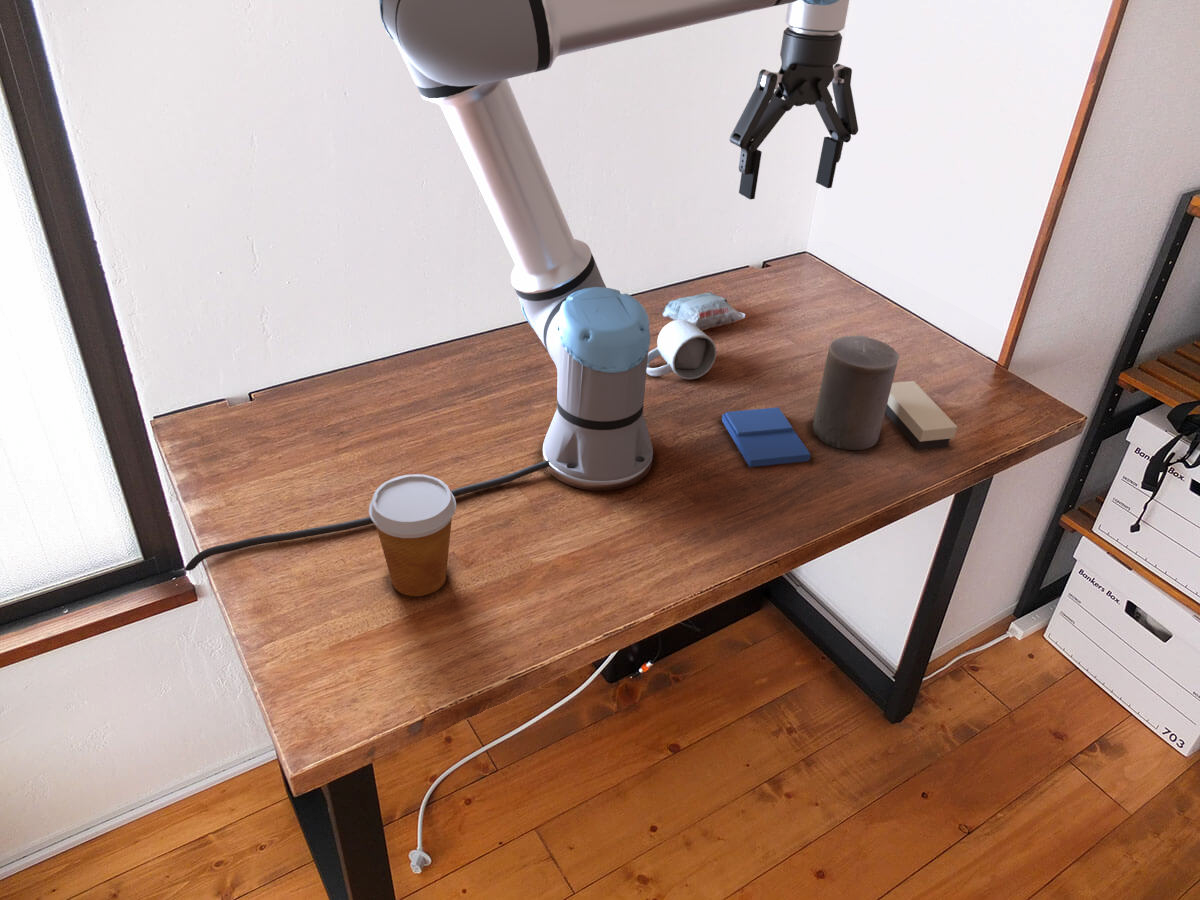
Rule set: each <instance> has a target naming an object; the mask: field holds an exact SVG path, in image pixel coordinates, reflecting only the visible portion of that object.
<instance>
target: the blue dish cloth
mask: <svg viewBox="0 0 1200 900" xmlns="http://www.w3.org/2000/svg"><path fill="white" fill-rule="evenodd" d="M721 421H722V423H723V425H724V427H725V429H726V430H727V432H728V433H729V435H730V437H731V438H732V440H733V442H734V443H735V445H736V447H737V448H738V450H739V452H740V454H741V455H742V457H743V459H744V461H745V462H746V463H747V465H748V468H755V467H763V466H774V465H783V464H784V465H785V464H793V463H803V462H804V463H805V462H810V459H811V456H812V455H811V453H810V451H809V449H808V448H807V447H806V445H805V444H804V442H803V441H802V440H801V438H800V437H799V435H798V433H797V432H796V431H795V430H794V428H793V426H792V425H791V423H790V422H789V420H788V419H787V417H786V416H785V414H784V413H783V411H782V410H781V409H780V407H778V406H777V407H767V408H753V409H743V410H735V411H734V410H731V411H725V413H722V416H721Z"/></svg>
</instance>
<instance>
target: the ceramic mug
mask: <svg viewBox="0 0 1200 900" xmlns="http://www.w3.org/2000/svg"><path fill="white" fill-rule="evenodd" d="M656 345H657V346H656V347H655V348H653V349H651V350H650V351H648V361H647V372H646V375H649V376H651V377H661V376H665V375H667V374H671V373H672V372H673V373H674V374H675V375H676V376H677V377H678V378H680V379H683V380H696V379H699V378H701V377H703V376H705V374H707V373H708V372H709V371H710V370H711V369H712V367H713V365H714V364H715V362H716V358H717V346H716V344H715V342H714V340H713V339H712V338H711V337H710V336H708V335H707V334H706V333H705V332H704V330H702V331H701V330H700V329H699V328H698V327H697V326H696V325H694V324H693V323H691V322H689V321H686V320H682V319H678V320H674V319H672V320H671V321H669V322H668V323H666V324H665V325H664V326H663V327H662V328H661V329H660V331H659V333H658V335H657V338H656ZM659 356H661V357H662V358H663V359H664V361H665V362H666V363H667V364H665V365H664V364H663V365H661V366H659V367H650V363H651V362H652V361H653V360H654V359H656V358H657V357H659Z"/></svg>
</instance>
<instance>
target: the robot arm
mask: <svg viewBox="0 0 1200 900" xmlns="http://www.w3.org/2000/svg"><path fill="white" fill-rule="evenodd" d="M378 3H379V14H380V19H381V22H382V25H383V27H384V31H385V32H386V34H388V36H389V38H390V39H391V40H392V41H393V42H394V43H395V45H396V46H397V49H398V50H399V53H400V55H401V57H402V59H403V61H404V63H405V65H406V68H407V69H408V72H409V73H410V76H411V78H412V79H413V82H414V84H415V86H416V88H417V90H418V92H419V94H420V96H421V98H422V99H423V100H425V101H428V102H431V103H433V104H436V105H438V106H440V108H441V110H442V112H443V114H444V117H445V119H446V120H447V123H448V125H449V128H450V129H451V131H452V133H453V136H454V138H455V139H456V142H457V144H458V146H459V148H460V150H461V152H462V155H463V157H464V159H465V161H466V163H467V165H468V167H469V170H470V172H471V173H472V176H473V178H474V180H475V183H476V184H477V186H478V189H479V191H480V193H481V195H482V198H483V199H484V202H485V203H486V205H487V208H488V210H489V212H490V214H491V217H492V218H493V221H494V223H495V225H496V227H497V229H498V231H499V233H500V235H501V238H502V240H503V242H504V243H505V247H506V248H507V250H508V252H509V254H510V256H511V258H512V261H513V262H514V263H513V264H514V267H513V270H512V271H511V274H510V282H511V284H512V287H513V288H514V291H515V293H516V295H517V297H518V299H519V303H520V306H521V311H522V314H523V316H524V318H525V320H526V321H527V323H528V324H529V326H530V327H531V329H533V331H534V332H535V333H536V335H537V337H538V338H539V340H540V342H541V343H542V345H543V346H544V348H545V350H546V351H547V353H548V355H549V357H550V358H551V360H552V361H553V363H554V364H555V367H556V373H557V374H556V375H557V378H556V379H557V380H556V381H557V387H556V410H555V412H554V415H553V418H552V420H551V422H550V425H549V428H548V429H547V432H546V434H545V437H544V440H543V444H542V461H540V462H538V463H535V464H532V465H529V466H527V467H525V468H522V469H520V470H517V471H514V472H511V473H509V474H506V475H503V476H500V477H497V478H494V479H490V480H486V481H485V480H484V481H481V482H476V483H474V484H473V483H472V484H470V485H465V486H462V487H458V488H455V489H451V490H450V491H451V493H452V494H453V496H454V497H455V498H456V497H458V496H462V495H466V494H470V493H473V492H478V491H481V490H485V489H490V488H494V487H496V486H500V485H503V484H507V483H509V482H510V483H511V482H513V481H515V480H517V479H520V478H523V477H525V476H527V475H530V474H533V473H536V472H538V471H541V470H543V469H546V470H547V471H548V473H549V474H550V475H551V476H553V477H554V478H555V479H556V480H557V481H560V482H562V483H563V484H565V485H567V486H571V487H573V488H577V489H582V490H587V491H595V492H596V491H598V492H601V491H602V492H603V491H605V492H606V491H615V490H619V489H622V488H623V489H624V488H627V487H630V486H632V485H634V484H636V483H638V482H640V481H641V480H643V478H645V477H646V476H647V475H648V473H649V472H650V470H651V468H652V465H653V457H654V455H653V454H654V449H653V443H652V440H651V436H650V433H649V429H648V426H647V423H646V421H647V419H646V418H645V415H644V403H645V393H646V392H645V391H646V381H647V373H646V372H647V361H648V353H649V350H650V346H651V333H650V331H651V329H650V320H649V319H650V318H649V315H648V312H647V310H646V308H645V307H644V306H643V304H642V303H641V302H640V301H639V300H638V299H637V298H635V297H634V296H632V295H630V294H629V293H621V291H620V290H619V289H616V288H615V289H614V288H611V287H607V286H606V283H605V282H604V280H603V277H602V274H601V273H600V269H599V267H598V265H597V262H596V260H595V257H594V256H593V255H594V254H593V253H592V250H591V248H590V246H589V244H587V243H586V242H584V241H582V240H579V239H575V238H574V236H573V234H572V231H571V228H570V226H569V223H568V222H567V219H566V217H565V215H564V212H563V210H562V206H561V204H560V202H559V200H558V197H557V195H556V193H555V190H554V188H553V186H552V183H551V180H550V178H549V176H548V174H547V171H546V168H545V166H544V164H543V161H542V159H541V156H540V154H539V152H538V149H537V146H536V144H535V142H534V140H533V139H534V138H533V137H532V135H531V132H530V130H529V128H528V126H527V125H528V124H527V122H526V120H525V118H524V116H523V113H522V110H521V108H520V105H519V103H518V101H517V98H516V97H515V94H514V91H513V89H512V87H511V84H510V82H509V79H512V78H516V77H521V76H525V75H530V74H534V73H537V72H542V71H545V70H549V69H551V68H552V66H553V65H554V62H555V60H556V59H557V57H560V56H564V55H569V54H573V53H579V52H581V51H586V50H590V49H595V48H599V47H603V46H604V47H605V46H607V45H611V44H612V45H613V44H616V43H621V42H625V41H629V40H634V39H638V38H643V37H647V36H651V35H655V34H660V33H665V32H668V31H673V30H677V29H681V28H686V27H690V26H694V25H699V24H703V23H707V22H711V21H716V20H721V19H725V18H728V17H729V18H730V17H733V16H739V15H742V14H746V13H751V12H755V11H759V10H764V9H768V8H772V7H777V6H782V5H787V9H786V15H785V23H786V25H787V26H788V27H786V28H785V29H784V30H783V34H782V40H781V45H780V53H779V56H780V60H781V66H780V68H779V71H778V72H773V71H769V70H767V69H764V68H763V69H761V70H760V71H759V73H758V76H757V79H756V80H757V81H756V85H755V88H754V90H753V92H752V94H751V96H750V98H749V100H748V102H747V103H746V105H745V107H744V109H743V110H742V113H741V114H740V117H739V119H738V121H737V123H736V125H735V127H734V129H733V130H732V132H731V134H730V137H729V142H730V143H731V144H733V145H735V146H736V147H738V148H740V155H739V162H738V172H740V173H741V174H740V182H739V189H738V194H740V195H741V196H743V197H745V198H747V199H748V200H755V199H756V192H757V186H758V179H759V172H760V167H761V159H762V153H763V152H762V151H761V150H760V149H759V147H760V146H761V145H762V143H763V142H764V141H765V140H766V139H767V137H768V135H770V133H771V132H772V130H773V129H774V128H775V127H776V126H777V124H778V123H779V121H780V120H781V119H782V118H783V116H784V115H785V114H786V112H790V111H791V110H792V108H793V107H794V106H795V107H802V106H804V105H808V106H815V108H816V109H817V112H818V114H819V116H820V118H821V119H822V123H824V124H823V125H824V126H825V128H826V130H827V132H828V134H829V135H830V136H824V137H823V143H822V147H821V151H820V157H819V163H818V168H817V173H816V178H815V183H816V184H818V185H820V186H822V187H824V188H826V189H832V188H833V183H834V179H835V174H836V168H837V163H840V160H841V157H842V151H843V149H844V143H846V144H847V143H849V142H850V141H851V140H852V136H855V135H857V134H858V132H859V125H858V119H857V113H856V109H855V102H854V97H853V91H852V85H851V84H852V75H853V69H852V67H849V66H846V65H843V64H841V63H838V60H839V57H840V52H841V46H842V41H843V35H842V34H841V31H842V30H844V29H845V25H846V21H847V15H848V11H849V10H848V9H849V5H850V4H849V3H850V0H378ZM830 84H831V86H832V92H833V97H834V99H833V97H832V95H831V93H830V91H829V88H828V87H829V86H830ZM833 100H834V102H835V104H834V103H833ZM834 105H835V106H834ZM373 524H374V522H373V521H372V520H371V518H370V516H366V517H363V518H358V519H354V520H349V521H344V522H340V523H335V524H329V525H323V526H318V527H311V528H305V529H300V530H293V531H288V532H282V533H281V532H280V533H275V534H267V535H261V536H256V537H251V538H247V539H241V540H238V541H233V542H229V543H224V544H220V545H216V546H212V547H209V548H206V549H204V550H201V551H200V552H198V553H197V554H196V555H195V556H194V557H192V558H191V559H190V561H188V563H187V564H186V565H185V568H184V570H185V571H186V572H190V571H193V570H194V569H196V567H197V566H198V565H199V564H200V563H201V562H203V561H204V560H206V559H207V558H209V557H212V556H216V555H218V554H222V553H228V552H232V551H237V550H241V549H245V548H249V547H253V546H254V547H255V546H258V545H264V544H269V543H278V542H285V541H291V540H296V539H302V538H307V537H309V538H310V537H314V536H318V535H319V536H320V535H325V534H333V533H336V532H342V531H346V530H352V529H355V528H360V527H361V528H362V527H365V526H368V525H373Z"/></svg>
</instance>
